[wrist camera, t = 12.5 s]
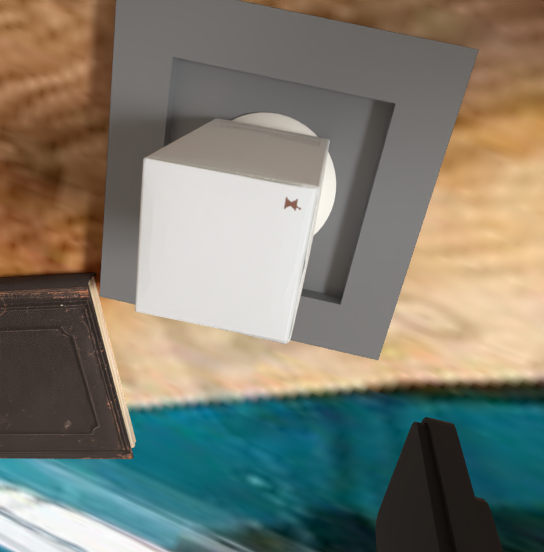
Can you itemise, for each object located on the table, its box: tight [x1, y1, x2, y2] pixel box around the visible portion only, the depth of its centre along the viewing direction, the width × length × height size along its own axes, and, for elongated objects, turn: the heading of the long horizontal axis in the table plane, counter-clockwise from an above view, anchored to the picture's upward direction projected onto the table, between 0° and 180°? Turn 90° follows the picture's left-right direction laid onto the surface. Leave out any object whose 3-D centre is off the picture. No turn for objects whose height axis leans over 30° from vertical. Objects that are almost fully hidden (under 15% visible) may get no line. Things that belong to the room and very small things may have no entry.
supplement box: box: [135, 118, 330, 344], centre depth 27 cm, size 7×7×13 cm
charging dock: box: [100, 0, 479, 360], centre depth 33 cm, size 20×20×2 cm
